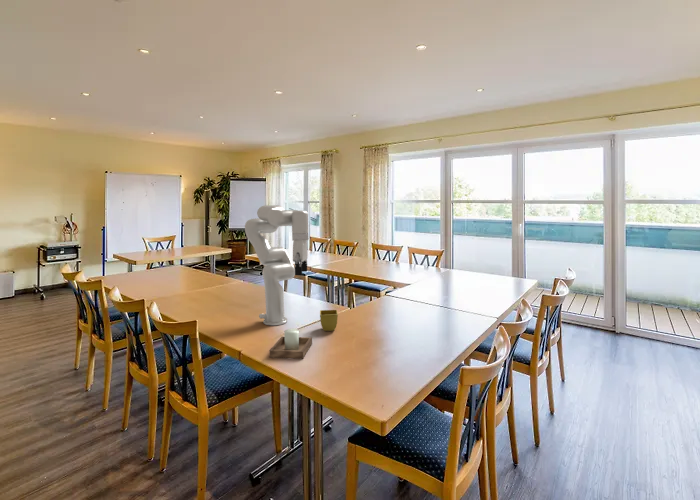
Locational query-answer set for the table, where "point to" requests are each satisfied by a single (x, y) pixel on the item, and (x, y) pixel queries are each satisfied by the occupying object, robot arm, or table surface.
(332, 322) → the flower pot
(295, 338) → the white upright rounded piece
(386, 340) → the table surface
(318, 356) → the table surface
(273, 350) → the tray
